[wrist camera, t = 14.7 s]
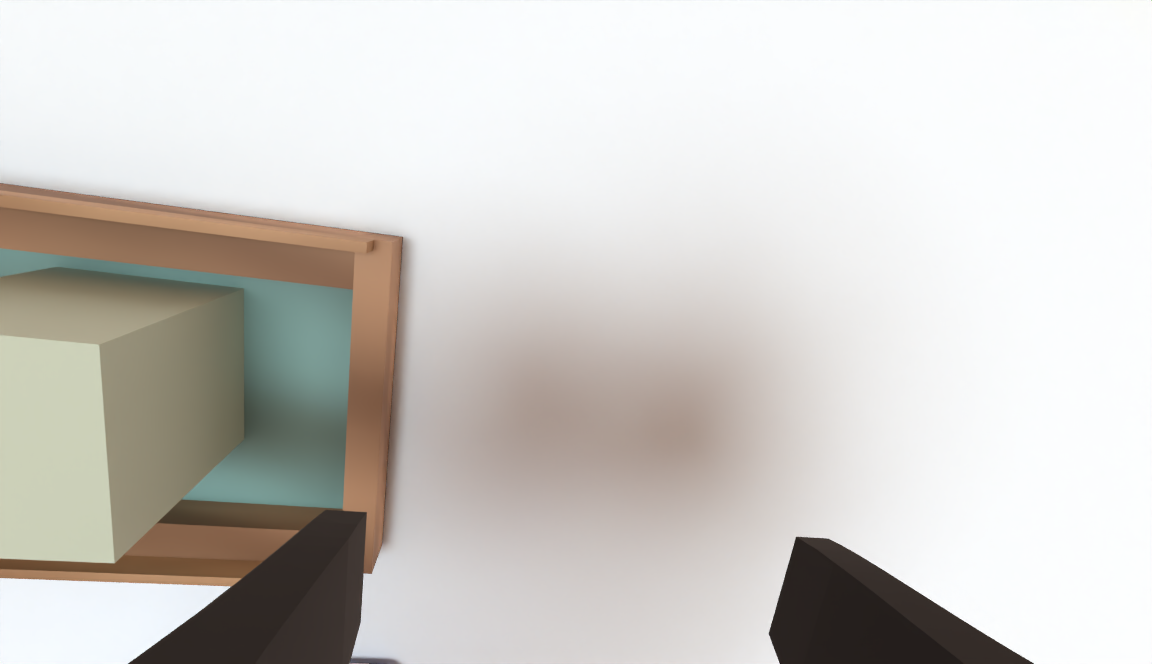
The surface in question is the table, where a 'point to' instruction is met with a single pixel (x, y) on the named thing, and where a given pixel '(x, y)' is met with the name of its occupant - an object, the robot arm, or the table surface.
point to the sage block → (110, 405)
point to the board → (271, 371)
